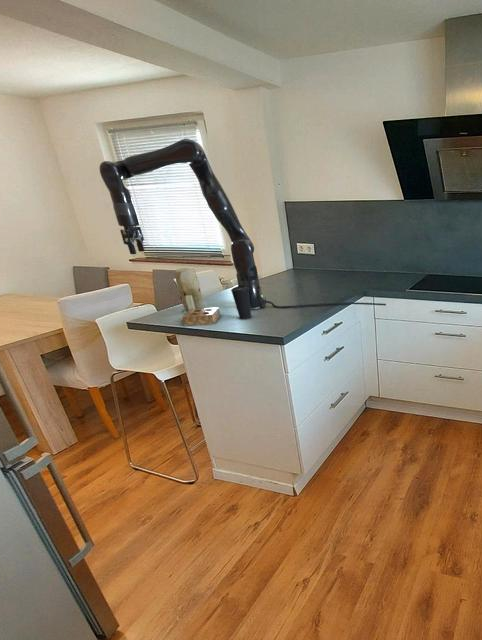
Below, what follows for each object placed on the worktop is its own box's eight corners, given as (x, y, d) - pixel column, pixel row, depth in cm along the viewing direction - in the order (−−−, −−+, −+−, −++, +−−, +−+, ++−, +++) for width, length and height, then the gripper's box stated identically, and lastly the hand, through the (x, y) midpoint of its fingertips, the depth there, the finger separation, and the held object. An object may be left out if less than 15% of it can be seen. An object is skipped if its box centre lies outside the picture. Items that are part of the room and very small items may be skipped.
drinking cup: (237, 321, 171) (228, 276, 162) (235, 316, 177) (226, 273, 168) (255, 318, 174) (247, 274, 166) (253, 314, 180) (245, 271, 172)
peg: (196, 313, 181) (191, 295, 177) (195, 315, 179) (190, 296, 175) (191, 314, 181) (186, 295, 177) (190, 315, 179) (185, 296, 175)
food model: (206, 306, 192) (197, 266, 183) (203, 310, 186) (193, 269, 178) (184, 308, 189) (174, 267, 181) (181, 312, 183) (170, 270, 175)
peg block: (220, 315, 178) (218, 307, 177) (214, 323, 167) (212, 314, 166) (192, 317, 176) (190, 309, 174) (184, 325, 165) (181, 316, 163)
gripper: (128, 214, 157) (140, 254, 164) (142, 212, 170) (153, 250, 177) (107, 215, 156) (120, 255, 163) (123, 213, 169) (135, 250, 175)
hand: (137, 252), depth 170 cm, fingers open, 8 cm apart
